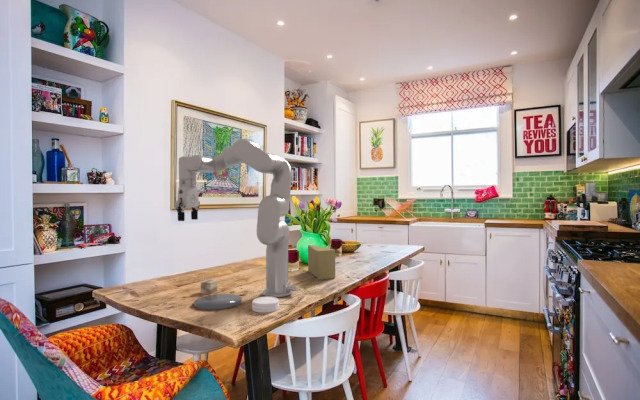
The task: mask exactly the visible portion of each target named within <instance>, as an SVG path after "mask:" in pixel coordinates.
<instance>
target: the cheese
mask: <svg viewBox="0 0 640 400" xmlns="http://www.w3.org/2000/svg"><path fill="white" fill-rule="evenodd" d="M307 265H308V266H307V271H308V272H309V273H310V274H311V275H313V276H314V277H316V278H317V280H319V281H323V280H324V279H325V280H331V279H335V278H336V250H335V249H332V248H328V247H323V246H322V247H321V246H318V245H314V244H308V246H307Z"/></svg>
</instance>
